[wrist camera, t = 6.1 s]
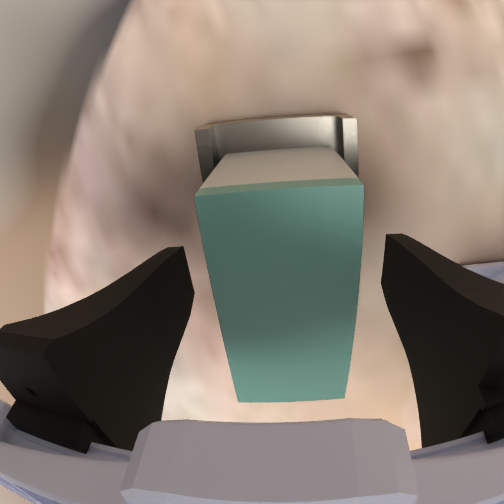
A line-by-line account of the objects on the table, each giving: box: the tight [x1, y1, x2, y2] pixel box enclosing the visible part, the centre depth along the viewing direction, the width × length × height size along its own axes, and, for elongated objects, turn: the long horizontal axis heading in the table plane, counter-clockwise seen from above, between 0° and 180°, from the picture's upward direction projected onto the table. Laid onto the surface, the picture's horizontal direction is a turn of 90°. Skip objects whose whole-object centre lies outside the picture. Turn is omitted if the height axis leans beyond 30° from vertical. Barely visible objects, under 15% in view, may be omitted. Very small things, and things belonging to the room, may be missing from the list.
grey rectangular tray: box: [195, 114, 358, 183], centre depth 14 cm, size 6×11×2 cm, turn 6°
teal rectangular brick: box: [194, 146, 364, 402], centre depth 11 cm, size 4×8×5 cm, turn 6°
